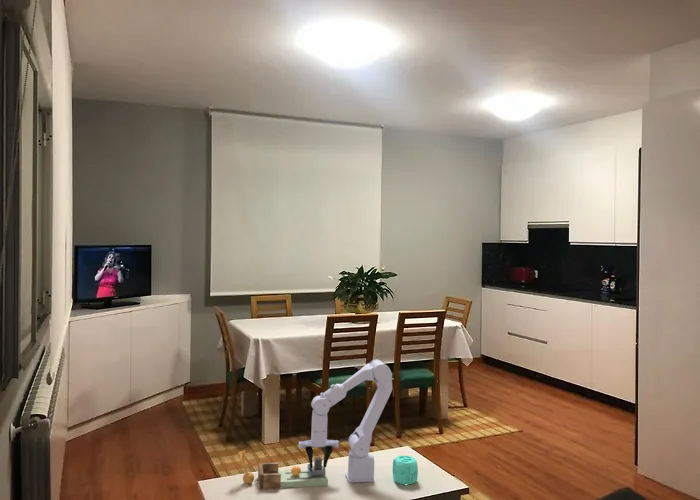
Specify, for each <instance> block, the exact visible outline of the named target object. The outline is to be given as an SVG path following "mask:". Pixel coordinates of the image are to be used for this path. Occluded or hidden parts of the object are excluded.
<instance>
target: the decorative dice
mask: <svg viewBox="0 0 700 500" xmlns="http://www.w3.org/2000/svg"><path fill="white" fill-rule="evenodd" d="M392 461H393V462H392V477H393V481H394V482H395V483H397V484H398V483H399V485H402V484H411V485H413V484H415V483H417V481H418V477H419V476H418V475H419V468H418V461H417V459H416V458H415V457H413V456H410V455H398V456H395V457H394V458H393V460H392Z"/></svg>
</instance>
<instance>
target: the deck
mask: <svg viewBox="0 0 700 500" xmlns="http://www.w3.org/2000/svg"><path fill="white" fill-rule="evenodd" d="M278 473H281V487H280V489H281V488H285V489H286V488H301V487H302V488H305V487H319V486H320V487H322V486H326V487H327V486H328V485H329V479H328V476H327V475H326V473H325V475H320V476H312V478H310V476H309V473H308V470H307V469H301V473H300V474H299V475H298V476H294V475H292V473H291V470H278Z"/></svg>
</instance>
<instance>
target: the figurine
mask: <svg viewBox="0 0 700 500" xmlns="http://www.w3.org/2000/svg"><path fill="white" fill-rule="evenodd" d="M245 454H246V450H245V449H244V450H242V451H238V453H237V457H238V458H239V460H240V463H241V464H242V467H243V471H244V472H245V473H244V474H243V476H242V481H243V483H244V484H246V485H251V484H252V483H253V482H254V480H255V476H254V473H252V472H250V471H249V470H248V468H249V463H248V461H246V460H248V459H247V457H246V455H245Z"/></svg>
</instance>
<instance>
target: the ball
mask: <svg viewBox="0 0 700 500" xmlns="http://www.w3.org/2000/svg"><path fill="white" fill-rule="evenodd" d="M301 470H302V469H301V467H300V466H299V465H294V466H292V467H291V470H290V471H291V473H292V475H294V476H298V475H299V474H300V473H301Z"/></svg>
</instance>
